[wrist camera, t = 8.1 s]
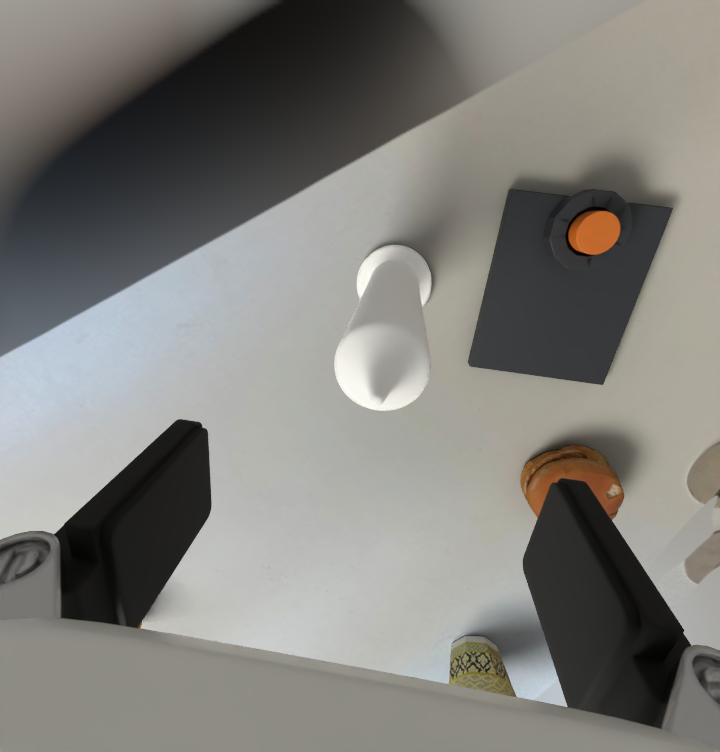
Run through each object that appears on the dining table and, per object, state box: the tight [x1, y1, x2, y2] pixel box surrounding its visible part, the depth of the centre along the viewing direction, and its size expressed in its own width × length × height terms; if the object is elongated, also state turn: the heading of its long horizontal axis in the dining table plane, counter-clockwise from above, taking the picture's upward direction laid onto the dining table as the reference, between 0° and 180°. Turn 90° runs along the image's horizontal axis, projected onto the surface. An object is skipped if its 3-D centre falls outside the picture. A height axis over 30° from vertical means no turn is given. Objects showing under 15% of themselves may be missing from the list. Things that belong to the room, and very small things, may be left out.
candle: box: [334, 245, 432, 411], centre depth 27 cm, size 7×7×25 cm
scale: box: [468, 189, 673, 385], centre depth 35 cm, size 16×13×3 cm
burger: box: [521, 446, 624, 520], centre depth 43 cm, size 10×9×5 cm
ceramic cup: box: [449, 636, 516, 697], centre depth 54 cm, size 13×10×10 cm
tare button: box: [568, 211, 620, 255], centre depth 31 cm, size 3×3×2 cm
